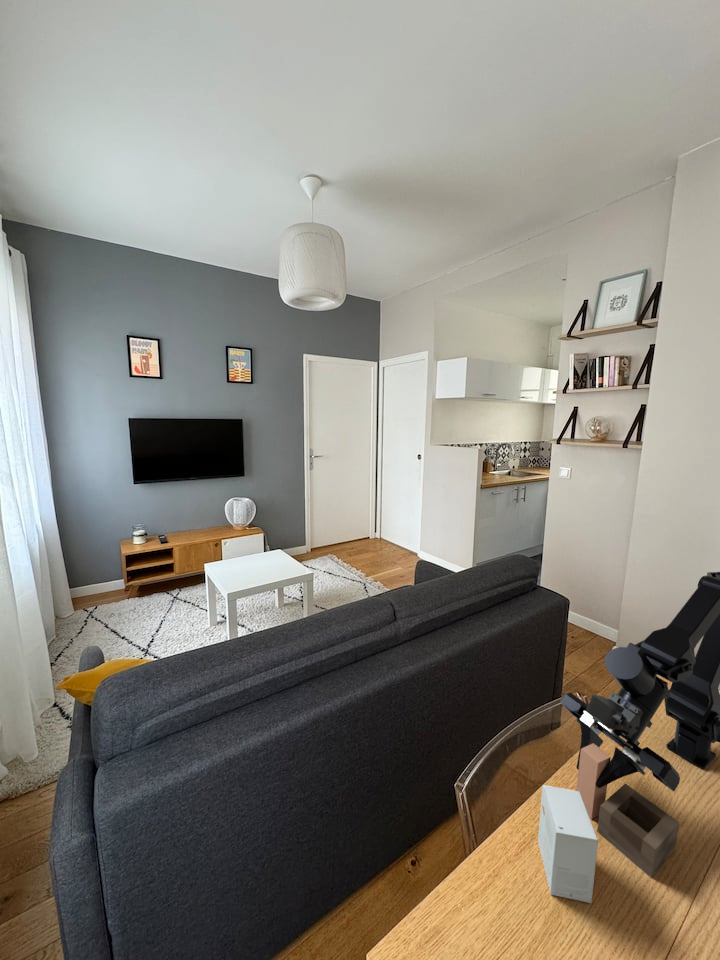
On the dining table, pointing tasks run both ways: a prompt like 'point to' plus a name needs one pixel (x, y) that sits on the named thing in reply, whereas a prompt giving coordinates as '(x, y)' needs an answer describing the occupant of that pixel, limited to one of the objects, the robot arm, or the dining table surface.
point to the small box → (567, 844)
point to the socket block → (638, 829)
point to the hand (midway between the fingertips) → (587, 777)
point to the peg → (592, 778)
